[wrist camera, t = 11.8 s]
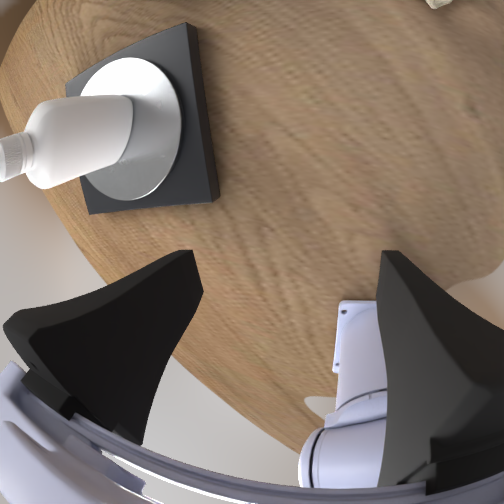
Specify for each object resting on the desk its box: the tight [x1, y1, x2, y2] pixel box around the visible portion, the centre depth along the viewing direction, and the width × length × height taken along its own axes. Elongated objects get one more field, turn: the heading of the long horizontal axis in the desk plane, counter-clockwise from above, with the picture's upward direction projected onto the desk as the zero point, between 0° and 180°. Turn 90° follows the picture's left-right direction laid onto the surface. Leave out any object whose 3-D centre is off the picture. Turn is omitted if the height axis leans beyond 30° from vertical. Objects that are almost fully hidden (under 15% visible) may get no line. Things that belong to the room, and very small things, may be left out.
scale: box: [65, 22, 220, 215], centre depth 19 cm, size 14×14×2 cm
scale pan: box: [80, 57, 185, 200], centre depth 18 cm, size 12×12×1 cm
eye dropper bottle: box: [0, 94, 133, 189], centre depth 13 cm, size 4×6×12 cm
